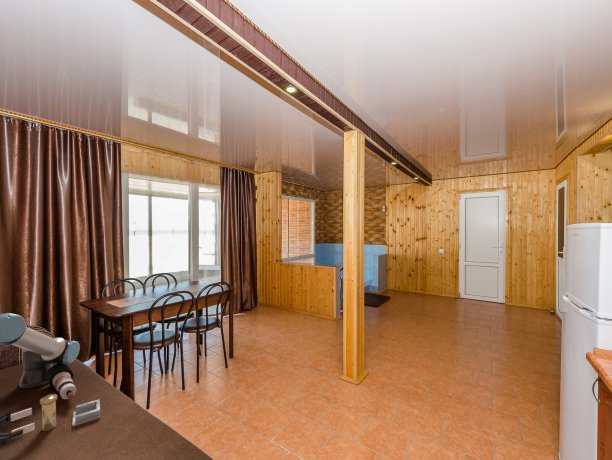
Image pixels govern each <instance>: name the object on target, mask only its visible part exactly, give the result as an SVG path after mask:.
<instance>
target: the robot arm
mask: <svg viewBox="0 0 612 460" xmlns="http://www.w3.org/2000/svg"><path fill="white" fill-rule="evenodd" d="M25 321H26V320H25V318H24V317H23V316H21V315H20V314H15V313H9V312H8V313H7V312H5V313H0V346H3V347H8V346H14V347H18V348H20V349H23V350H22V360H23V362H22V363H23V373H22V375H21V377H20V379H19V388H21V389H33V388H38V387H42V386H44V385H45V386H46V385H47V384H49V382H48V380H47V377H46V374H47V371H48V370H49V369H50V368H51V367H52V366H54V365H56V364H67V365H68V364H71V363H73V362H74V361H75V360H76V359H77V357H78V356H79V354H80V347H81V346H80V343H79V342H78V341H76V340H72V341H71V340H67V339H64V338H63V337H54V338H53V337H51V336H49V335H47V334H44V333H42V332H40V331H37V330H35V329H33V328H31V327H28V326H27V323H26V322H25ZM53 364H54V365H53ZM31 415H33V408H32V407H29V408H26V409H23V410H20V411H17V412H14V413H11V412H6V413H4V414H2V415H0V428H1V427H2V426H4V425H5V424H7V423H8V422H13V421H17V420H19V419H20V420H21V419H23V418H25V417H29V416H31ZM35 428H36V427H35V422H31V423H30V424H26V425H23V426H21V427H18V428H14V429H13V430H11V431H10V432H0V446H3V445H7V444H10V443H11V442H12V439H14V438H17V437H19V436H22V435H25V434H27V433H30V432H33V431H35V430H36V429H35Z"/></svg>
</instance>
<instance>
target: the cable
mask: <svg viewBox="0 0 612 460" xmlns="http://www.w3.org/2000/svg"><path fill="white" fill-rule="evenodd" d="M46 377H47V380H48V382H49V383H48V385H49V386H50V388H52V389H54V390H55V391H56V392H58V394H59V395H60V397H61V398H62V400H72V399H74V396H75V395H76V393H77V388H76V386H75V383H74V381H73V378H74V373H73V371H72V369H71V368H70V366H69V365H68V364H54V365H53V366H52V367H51V368H50V369H49V370H48V371H47V374H46Z"/></svg>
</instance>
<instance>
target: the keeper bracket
mask: <svg viewBox="0 0 612 460" xmlns="http://www.w3.org/2000/svg"><path fill="white" fill-rule="evenodd" d="M100 418H101V402H100V399H95V400H91V401H89V402H84V403H81V404H77V405H76V406H75V410H74V411H73V414H72V423H71V424H72V425H71V426H72V427H76V426H80V425H83V424H86V423H89V422H93V421H95V420H98V419H100Z"/></svg>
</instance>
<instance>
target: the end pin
mask: <svg viewBox="0 0 612 460" xmlns="http://www.w3.org/2000/svg"><path fill="white" fill-rule="evenodd" d="M57 400H58V395H57V394H56V393H50V394H48V395H45V396H42V397H41V398H40V399H39V404H40V405H41V421H42V422H41V423H42V431H43V432H48V431H50V430H53V429H54V428H56V426H57V407H56V406H57V405H56V403H57V402H56V401H57Z"/></svg>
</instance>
